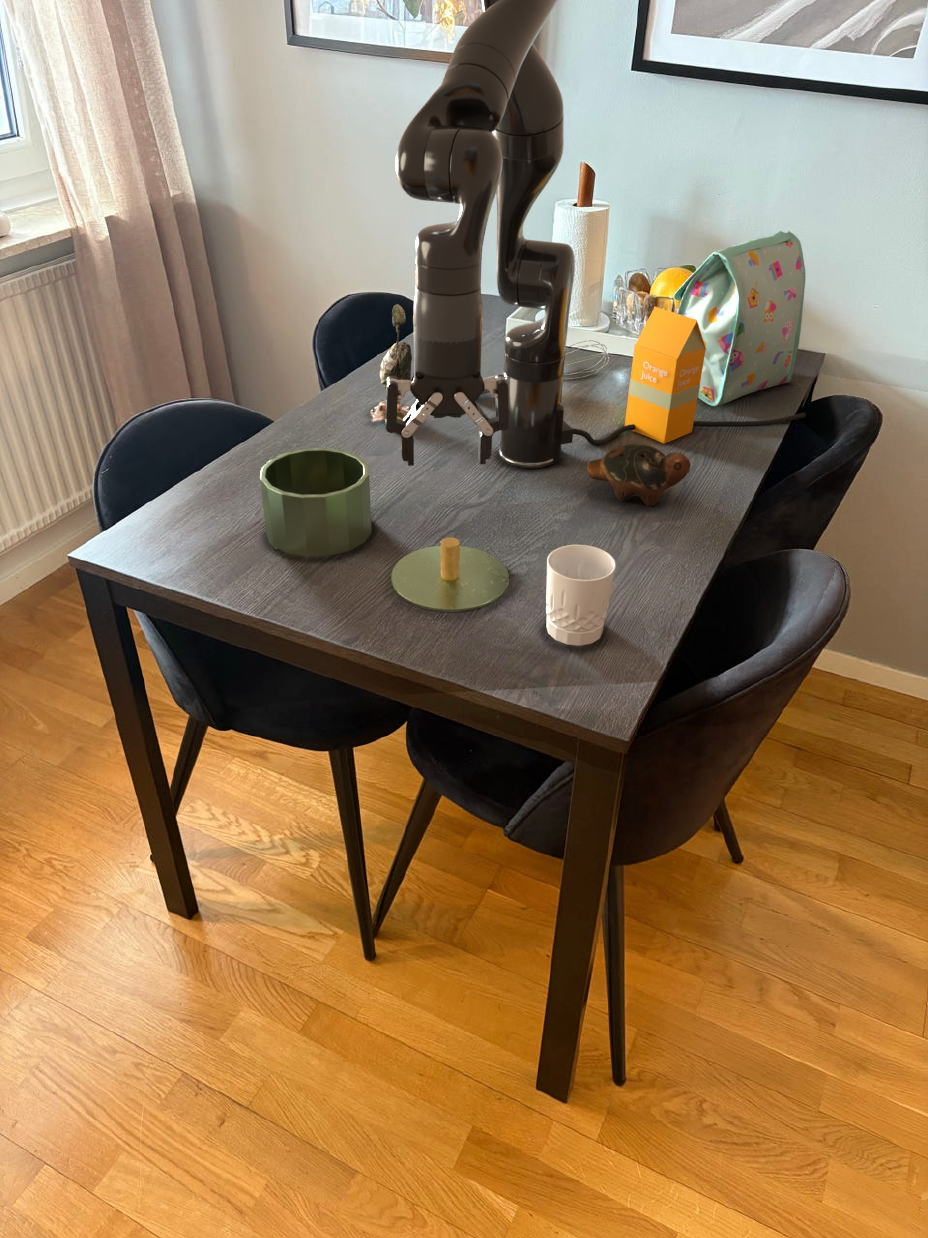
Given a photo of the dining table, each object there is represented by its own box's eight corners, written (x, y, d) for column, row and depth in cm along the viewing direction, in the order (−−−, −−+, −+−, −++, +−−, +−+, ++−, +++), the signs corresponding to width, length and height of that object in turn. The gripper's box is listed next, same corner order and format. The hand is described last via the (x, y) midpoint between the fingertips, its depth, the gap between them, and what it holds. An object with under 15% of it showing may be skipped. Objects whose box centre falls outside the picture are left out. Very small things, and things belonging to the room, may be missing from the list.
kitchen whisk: (444, 394, 175) (445, 361, 171) (595, 365, 189) (598, 334, 185) (461, 406, 170) (461, 372, 167) (614, 376, 184) (617, 344, 181)
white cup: (537, 614, 119) (542, 545, 113) (599, 612, 119) (608, 543, 113) (547, 653, 112) (553, 581, 106) (613, 650, 113) (622, 579, 107)
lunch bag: (730, 359, 192) (756, 218, 176) (799, 385, 182) (833, 237, 166) (652, 385, 180) (673, 236, 164) (722, 414, 170) (751, 257, 154)
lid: (500, 549, 131) (502, 510, 127) (516, 613, 119) (519, 572, 115) (388, 554, 129) (387, 514, 126) (393, 619, 117) (392, 577, 114)
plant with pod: (427, 406, 171) (426, 292, 159) (402, 430, 162) (399, 312, 150) (385, 399, 173) (381, 286, 161) (358, 423, 164) (352, 306, 152)
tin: (370, 506, 140) (367, 446, 135) (372, 557, 129) (370, 495, 123) (270, 509, 139) (264, 449, 133) (264, 562, 127) (256, 498, 122)
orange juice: (663, 444, 159) (681, 324, 148) (623, 426, 165) (638, 310, 153) (692, 431, 164) (712, 314, 152) (652, 415, 169) (669, 301, 157)
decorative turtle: (684, 516, 139) (688, 467, 134) (581, 507, 143) (581, 459, 138) (690, 483, 147) (694, 436, 142) (592, 476, 150) (593, 429, 146)
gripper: (383, 340, 101) (387, 478, 111) (516, 338, 103) (509, 475, 112) (381, 317, 107) (385, 450, 117) (507, 316, 109) (501, 447, 118)
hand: (446, 462), depth 114 cm, fingers open, 8 cm apart
